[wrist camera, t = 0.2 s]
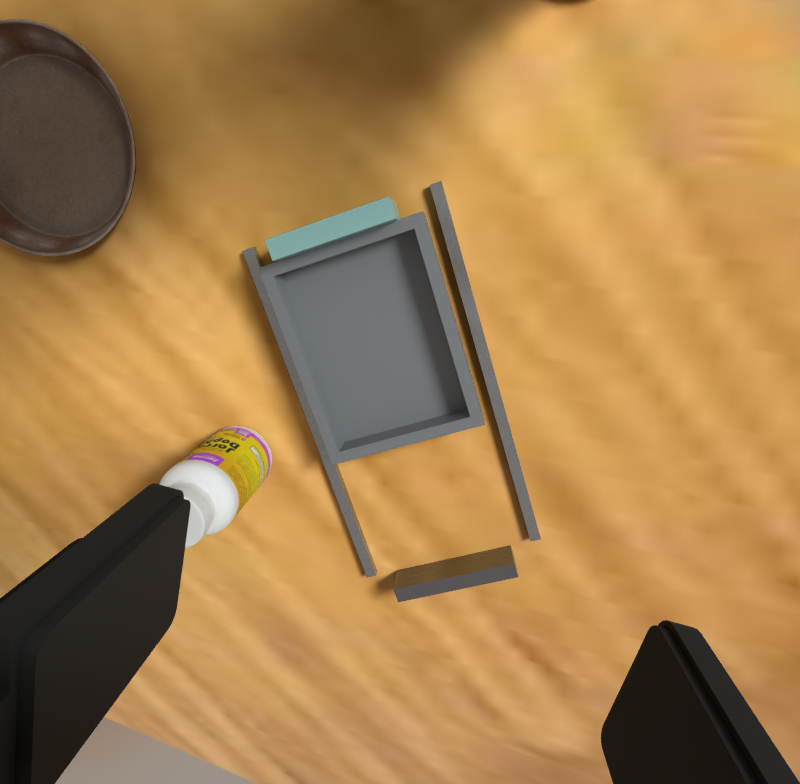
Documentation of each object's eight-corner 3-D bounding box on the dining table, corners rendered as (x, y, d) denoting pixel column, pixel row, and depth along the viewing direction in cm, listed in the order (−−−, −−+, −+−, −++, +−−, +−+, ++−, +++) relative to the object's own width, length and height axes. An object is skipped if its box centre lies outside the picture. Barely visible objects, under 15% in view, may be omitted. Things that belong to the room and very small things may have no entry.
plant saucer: (-78, 110, 44) (-115, 100, 41) (69, -14, 40) (40, -35, 38) (47, 290, 48) (21, 292, 45) (194, 191, 44) (176, 187, 41)
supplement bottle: (265, 418, 49) (204, 476, 37) (281, 480, 51) (228, 555, 38) (201, 428, 50) (120, 487, 38) (219, 488, 52) (147, 564, 39)
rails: (245, 250, 45) (231, 251, 42) (441, 182, 42) (440, 177, 39) (374, 588, 53) (369, 608, 50) (544, 551, 50) (549, 570, 47)
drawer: (267, 248, 44) (241, 248, 39) (419, 195, 42) (415, 187, 36) (340, 448, 49) (327, 474, 43) (481, 410, 47) (486, 432, 41)
